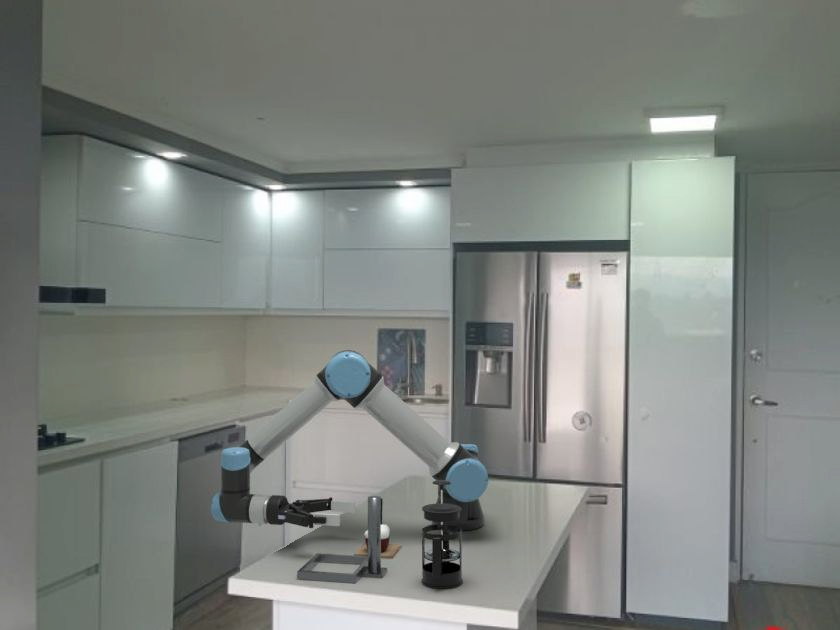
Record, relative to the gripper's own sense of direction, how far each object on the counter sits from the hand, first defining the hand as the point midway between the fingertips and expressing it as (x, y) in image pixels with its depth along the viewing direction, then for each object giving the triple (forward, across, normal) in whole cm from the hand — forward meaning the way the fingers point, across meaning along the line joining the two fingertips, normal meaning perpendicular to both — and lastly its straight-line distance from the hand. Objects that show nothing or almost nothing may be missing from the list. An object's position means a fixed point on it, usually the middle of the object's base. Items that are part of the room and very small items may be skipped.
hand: (347, 513), depth 204 cm
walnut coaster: (+8, 0, -9) cm, 12 cm away
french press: (+28, +20, -10) cm, 36 cm away
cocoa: (+8, +1, -9) cm, 12 cm away
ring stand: (+5, +17, -9) cm, 20 cm away
